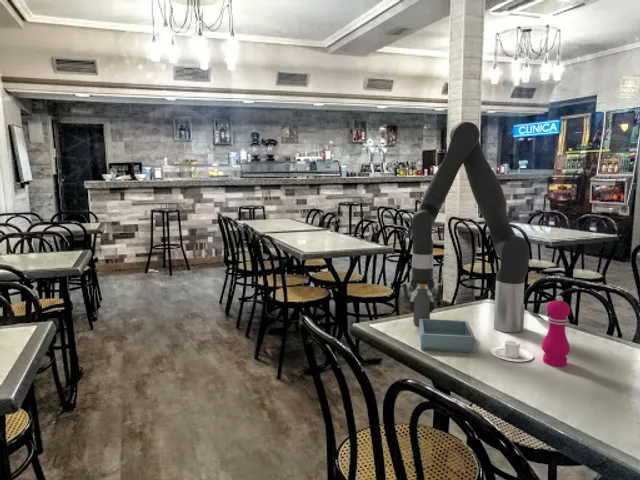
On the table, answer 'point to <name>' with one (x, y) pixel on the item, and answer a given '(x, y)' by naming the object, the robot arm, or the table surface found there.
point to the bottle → (421, 304)
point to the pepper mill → (556, 334)
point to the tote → (446, 335)
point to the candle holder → (512, 351)
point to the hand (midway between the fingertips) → (421, 311)
